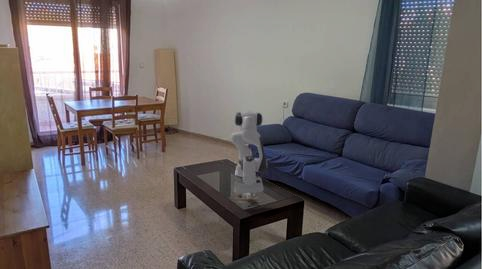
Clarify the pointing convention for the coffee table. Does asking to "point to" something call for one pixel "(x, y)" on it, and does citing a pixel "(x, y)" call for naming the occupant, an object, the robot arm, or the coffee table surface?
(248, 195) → the white capsule with handle
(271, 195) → the coffee table surface
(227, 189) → the coffee table surface
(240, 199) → the cradle board
